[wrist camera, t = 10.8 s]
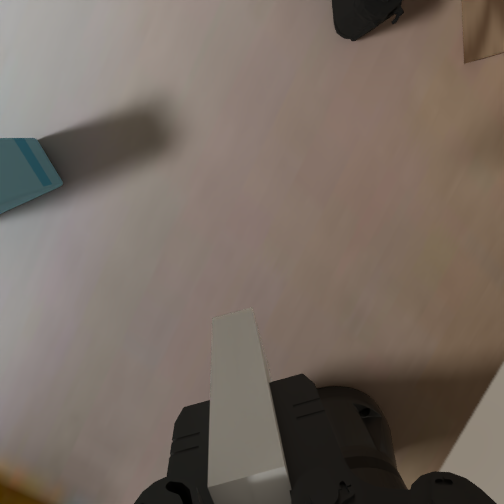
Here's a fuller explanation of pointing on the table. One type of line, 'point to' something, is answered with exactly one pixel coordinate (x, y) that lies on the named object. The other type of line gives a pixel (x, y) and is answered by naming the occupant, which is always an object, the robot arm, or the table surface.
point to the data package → (24, 172)
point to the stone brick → (482, 28)
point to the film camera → (362, 15)
